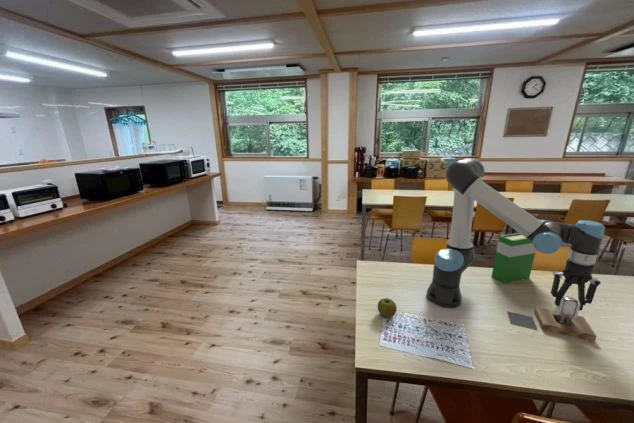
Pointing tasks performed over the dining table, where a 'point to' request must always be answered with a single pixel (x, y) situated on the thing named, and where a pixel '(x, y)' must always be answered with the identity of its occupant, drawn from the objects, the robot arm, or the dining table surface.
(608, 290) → the dining table surface
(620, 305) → the dining table surface
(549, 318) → the jig
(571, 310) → the brushed steel cylinder
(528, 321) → the pad
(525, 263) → the hardback book
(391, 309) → the apple
